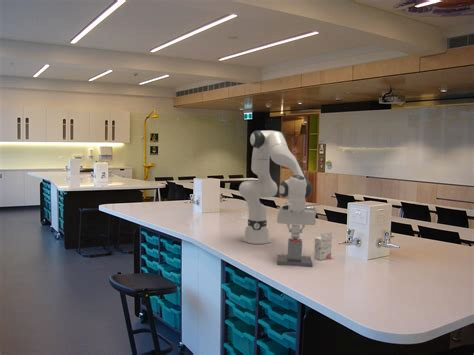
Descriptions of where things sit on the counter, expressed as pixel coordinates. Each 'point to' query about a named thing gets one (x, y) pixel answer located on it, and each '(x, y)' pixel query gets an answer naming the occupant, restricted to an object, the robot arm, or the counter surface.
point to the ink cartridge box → (323, 246)
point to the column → (295, 232)
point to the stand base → (294, 255)
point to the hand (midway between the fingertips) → (295, 232)
